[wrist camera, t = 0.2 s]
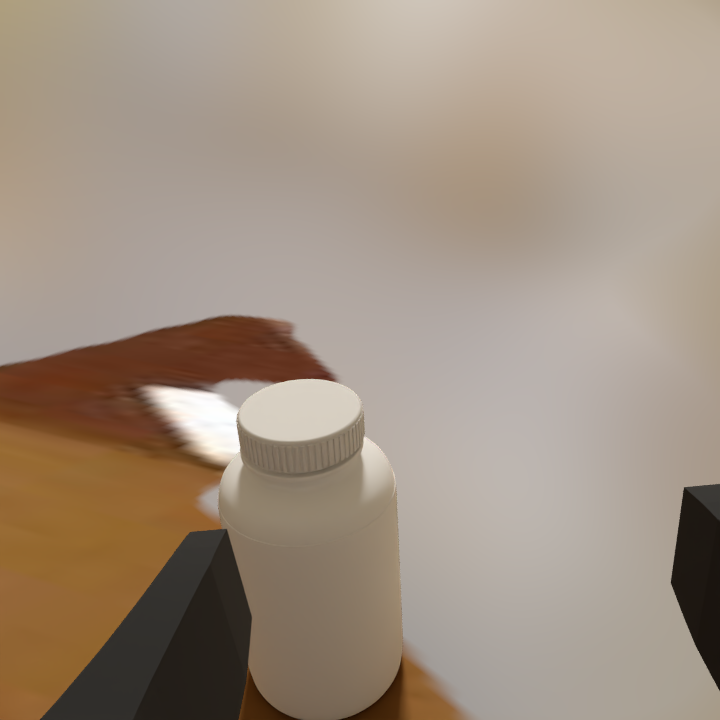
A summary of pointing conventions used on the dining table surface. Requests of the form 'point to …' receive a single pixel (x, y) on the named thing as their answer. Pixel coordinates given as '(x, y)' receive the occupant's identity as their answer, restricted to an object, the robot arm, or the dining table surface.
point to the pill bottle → (315, 549)
